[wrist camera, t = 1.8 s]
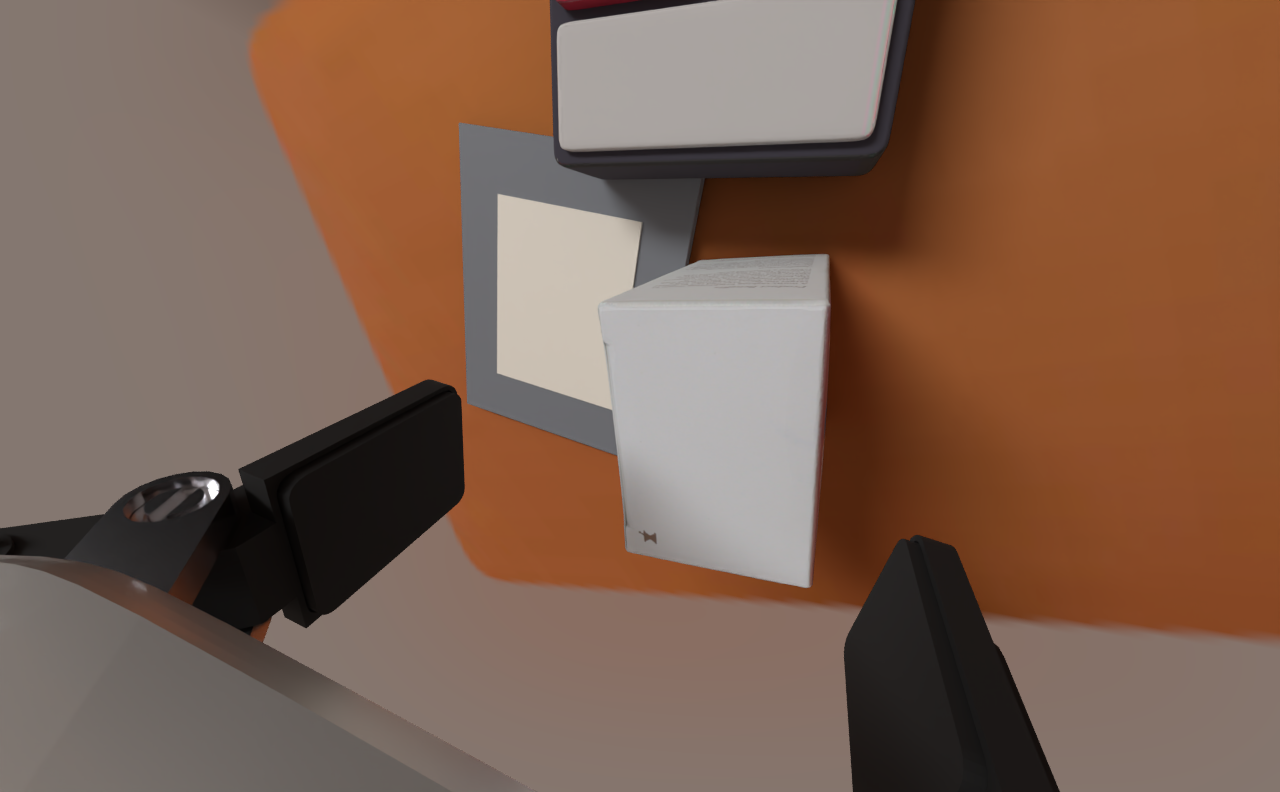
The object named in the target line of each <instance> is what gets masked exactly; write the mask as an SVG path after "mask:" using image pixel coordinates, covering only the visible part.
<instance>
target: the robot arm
mask: <svg viewBox="0 0 1280 792" xmlns="http://www.w3.org/2000/svg"><path fill="white" fill-rule="evenodd" d="M239 473H240V476H241V480H242V483H243V485H242V486H240V487H238V488H236V489H234V490H233V488H232V485H231V482H230V480H229V478H227V477H225V476H224V475H222V474H219V473H214V472H209V471H208V472H207V471H206V472H205V471H204V472H187V473H181V474H175V475H171V476H167V477H163V478H160V479H156V480H154V481H151V482H149V483H146V484H144V485H141V486H139V487H138V488H136V489H134V490H132V491H130V492H128V493H127V494H125V495H124V496H123V497H121V498H120V499H119V500H118V501H117V502H115V503H114V504H113V505H112V506H111V508H110V509H109V510H108V511H107V512H106V513H105V514H103V515H95V516H88V517H81V518H74V519H67V520H59V521H51V522H45V523H37V524H31V525H23V526H16V527H8V528H0V792H536V791H534V790H533V789H531V788H529V787H527V786H525V785H524V784H522V783H520V782H518V781H516V780H515V779H513V778H511V777H509V776H507V775H505V774H504V773H502V772H500V771H498V770H496V769H494V768H493V767H491V766H489V765H487V764H485V763H483V762H482V761H480V760H478V759H476V758H474V757H472V756H471V755H468V754H467V753H465V752H463V751H462V750H460V749H458V748H456V747H454V746H452V745H450V744H449V743H447V742H445V741H443V740H441V739H440V738H438V737H436V736H434V735H432V734H430V733H429V732H426V731H425V730H423V729H421V728H419V727H418V726H416V725H414V724H412V723H410V722H408V721H407V720H405V719H403V718H401V717H399V716H397V715H396V714H394V713H392V712H390V711H388V710H386V709H384V708H382V707H381V706H379V705H377V704H375V703H374V702H372V701H370V700H368V699H366V698H364V697H363V696H361V695H358V694H357V693H355V692H353V691H351V690H349V689H348V688H346V687H344V686H342V685H340V684H339V683H337V682H335V681H333V680H331V679H329V678H327V677H326V676H324V675H322V674H320V673H318V672H316V671H314V670H313V669H310V668H309V667H307V666H305V665H303V664H301V663H299V662H298V661H296V660H294V659H292V658H290V657H288V656H286V655H284V654H283V653H281V652H279V651H277V650H275V649H273V648H271V647H270V646H268V645H266V644H264V643H263V641H264V638H265V635H266V632H267V629H268V626H269V624H270V621H271V618H272V616H273V615H274V614H276V613H277V612H278V611H279V610H281V609H282V610H283V613H284V616H285V617H286V618H287V619H289V620H291V621H293V622H295V623H297V624H299V625H301V626H303V627H305V628H307V627H309V625H311V624H312V623H313V622H314V621H315V620H317V619H318V618H319V617H320V616H321V615H325V614H329V613H331V612H332V611H334V610H335V609H336V608H337V607H339V606H340V605H341V604H342V603H343V602H345V601H346V600H347V599H348V598H349V597H350V596H351V595H353V594H354V593H355V592H356V591H357V590H358V589H360V588H361V587H362V586H363V585H364V584H365V583H367V582H368V581H369V580H370V579H371V578H372V577H374V576H375V575H376V574H377V573H378V572H379V571H380V570H382V569H383V568H384V567H385V566H386V565H387V564H389V562H391V561H392V560H393V559H394V558H395V557H397V556H398V555H399V554H400V553H401V552H402V551H403V550H405V549H406V548H407V547H408V546H409V545H410V544H412V543H413V542H414V541H415V540H416V539H417V538H419V537H420V536H421V535H422V534H423V533H424V532H425V531H427V530H428V529H429V528H430V527H431V526H432V525H434V523H436V522H437V521H438V520H439V519H440V518H442V517H443V516H444V515H445V514H446V513H447V512H449V511H450V510H451V509H452V508H453V507H454V506H455V505H457V504H458V503H459V501H460V500H461V498H462V496H463V494H464V489H465V484H464V459H463V433H462V407H461V398H460V397H459V396H458V395H457V392H456V390H455V388H454V387H452V386H450V385H447V384H443V383H440V382H437V381H434V380H425V381H423V382H420V383H418V384H416V385H414V386H412V387H410V388H408V389H406V390H404V391H402V392H400V393H397V394H395V395H393V396H391V397H389V398H387V399H385V400H383V401H381V402H379V403H377V404H374V405H372V406H370V407H368V408H366V409H364V410H362V411H360V412H358V413H355V414H353V415H351V416H349V417H347V418H345V419H343V420H341V421H339V422H337V423H334V424H332V425H330V426H328V427H326V428H324V429H322V430H320V431H318V432H316V433H313V434H311V435H309V436H307V437H305V438H303V439H301V440H299V441H297V442H295V443H293V444H290V445H288V446H286V447H284V448H282V449H280V450H278V451H276V452H274V453H271V454H269V455H267V456H265V457H264V458H261V459H259V460H257V461H255V462H253V463H251V464H248V465H246V466H244V467H242V468H240V469H239ZM844 662H845V676H846V693H847V708H848V723H849V737H850V753H851V768H852V784H853V792H1060V791H1059V789H1058V786H1057V784H1056V781H1055V779H1054V777H1053V774H1052V772H1051V769H1050V767H1049V765H1048V762H1047V760H1046V757H1045V755H1044V752H1043V750H1042V748H1041V745H1040V743H1039V740H1038V738H1037V735H1036V733H1035V731H1034V728H1033V726H1032V723H1031V721H1030V719H1029V716H1028V714H1027V711H1026V709H1025V706H1024V704H1023V702H1022V699H1021V697H1020V694H1019V692H1018V689H1017V687H1016V684H1015V682H1014V680H1013V677H1012V675H1011V672H1010V670H1009V668H1008V665H1007V663H1006V660H1005V658H1004V656H1003V654H1002V652H1001V651H1000V649H999V647H998V646H997V645H995V644H994V643H993V640H992V638H991V635H990V633H989V630H988V628H987V625H986V623H985V620H984V618H983V615H982V613H981V610H980V608H979V605H978V603H977V600H976V598H975V595H974V593H973V590H972V588H971V586H970V583H969V581H968V578H967V576H966V573H965V571H964V568H963V566H962V563H961V561H960V558H959V556H958V553H957V551H956V549H955V548H954V547H953V546H951V545H948V544H945V543H942V542H939V541H935V540H932V539H929V538H926V537H923V536H920V535H915V536H913V537H912V538H911V539H910V541H909V540H906V539H901V540H899V541H898V543H897V544H896V546H895V548H894V550H893V552H892V554H891V555H890V557H889V559H888V561H887V563H886V565H885V567H884V568H883V570H882V572H881V574H880V576H879V578H878V580H877V581H876V583H875V585H874V587H873V589H872V591H871V593H870V594H869V596H868V598H867V600H866V602H865V604H864V606H863V607H862V609H861V611H860V613H859V615H858V617H857V619H856V620H855V622H854V624H853V626H852V628H851V630H850V632H849V634H848V636H847V638H846V642H845V647H844Z"/></svg>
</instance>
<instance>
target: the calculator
mask: <svg viewBox="0 0 1280 792" xmlns="http://www.w3.org/2000/svg"><path fill="white" fill-rule="evenodd" d="M914 5H915V0H550V22H551V61H552V101H553V140H554V156H555V159H556V161H557V163H558V164H559V165H561V166H563V167H565V168H568V169H571V170H574V171H577V172H580V173H583V174H586V175H589V176H592V177H596V178H599V179H604V180H619V179H683V178H747V177H811V176H859V175H864V174H866V173H868V172H869V171H870V170H871V169H872V168H873V167H874V166H875V164H876V163H877V161H878V160H879V158H880V157H881V155H882V154H883V152H884V151H885V149H886V147H887V145H888V143H889V138H890V134H891V129H892V124H893V118H894V113H895V108H896V102H897V97H898V91H899V86H900V80H901V75H902V70H903V64H904V59H905V53H906V48H907V43H908V37H909V32H910V26H911V21H912V15H913V10H914Z"/></svg>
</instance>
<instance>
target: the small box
mask: <svg viewBox="0 0 1280 792" xmlns="http://www.w3.org/2000/svg"><path fill="white" fill-rule="evenodd" d="M598 316H599V321H600V326H601V333H602V339H603V345H604V351H605V357H606V365H607V372H608V380H609V388H610V396H611V404H612V412H613V421H614V429H615V438H616V446H617V454H618V464H619V473H620V481H621V490H622V501H623V512H624V533H625V547H626V550H627V551H628V552H631V553H636V554H641V555H645V556H650V557H655V558H659V559H664V560H669V561H674V562H679V563H684V564H689V565H694V566H699V567H704V568H708V569H713V570H718V571H723V572H728V573H733V574H738V575H743V576H748V577H752V578H757V579H762V580H767V581H773V582H777V583H783V584H789V585H795V586H799V587H803V588H809V587H811V586H812V585H813V573H814V560H815V549H816V537H817V525H818V513H819V501H820V489H821V478H822V467H823V455H824V442H825V428H826V411H827V393H828V373H829V352H830V320H831V287H830V256H829V255H828V254H807V255H784V256H765V257H746V258H727V259H712V260H699V261H697V262H695V263H693V264H690V265H688V266H685V267H683V268H680V269H678V270H676V271H673V272H671V273H668V274H666V275H664V276H661V277H659V278H657V279H654V280H652V281H649V282H647V283H645V284H643V285H640V286H638V287H635V288H633V289H631V290H628V291H626V292H623V293H621V294H619V295H616V296H614V297H612V298H609V299H607V300H604V301H602V302H601V303H599V305H598Z"/></svg>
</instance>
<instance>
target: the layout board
mask: <svg viewBox="0 0 1280 792" xmlns="http://www.w3.org/2000/svg"><path fill="white" fill-rule="evenodd" d="M459 143H460V177H461V210H462V244H463V277H464V310H465V344H466V377H467V403H468V404H471V405H474V406H476V407H479V408H482V409H485V410H488V411H491V412H494V413H497V414H499V415H502V416H505V417H508V418H511V419H514V420H517V421H520V422H522V423H525V424H528V425H531V426H534V427H537V428H540V429H542V430H545V431H548V432H551V433H554V434H557V435H560V436H563V437H565V438H568V439H571V440H574V441H577V442H580V443H583V444H586V445H588V446H591V447H594V448H597V449H600V450H603V451H606V452H608V453H611V454H614V455H617V456H618V454H617V446H616V438H615V429H614V421H613V412H612V404H611V396H610V388H609V380H608V372H607V365H606V357H605V351H604V345H603V339H602V333H601V326H600V321H599V316H598V305H599V303H601V302H602V301H604V300H607V299H609V298H612V297H614V296H616V295H619V294H621V293H623V292H626V291H628V290H631V289H633V288H635V287H638V286H640V285H643V284H645V283H647V282H649V281H652V280H654V279H657V278H659V277H661V276H664V275H666V274H668V273H671V272H673V271H676V270H678V269H680V268H683V267H685V266H688V265H689V260H690V254H691V249H692V244H693V239H694V233H695V228H696V223H697V217H698V212H699V207H700V201H701V196H702V191H703V186H704V180H705V178H683V179H619V180H604V179H599V178H596V177H592V176H589V175H586V174H583V173H580V172H577V171H574V170H571V169H568V168H565V167H563V166H561V165H559V164H558V163H557V161H556V159H555V156H554V140H553V137H551V136H544V135H537V134H531V133H524V132H518V131H511V130H504V129H498V128H491V127H484V126H478V125H471V124H464V123H459Z"/></svg>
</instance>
